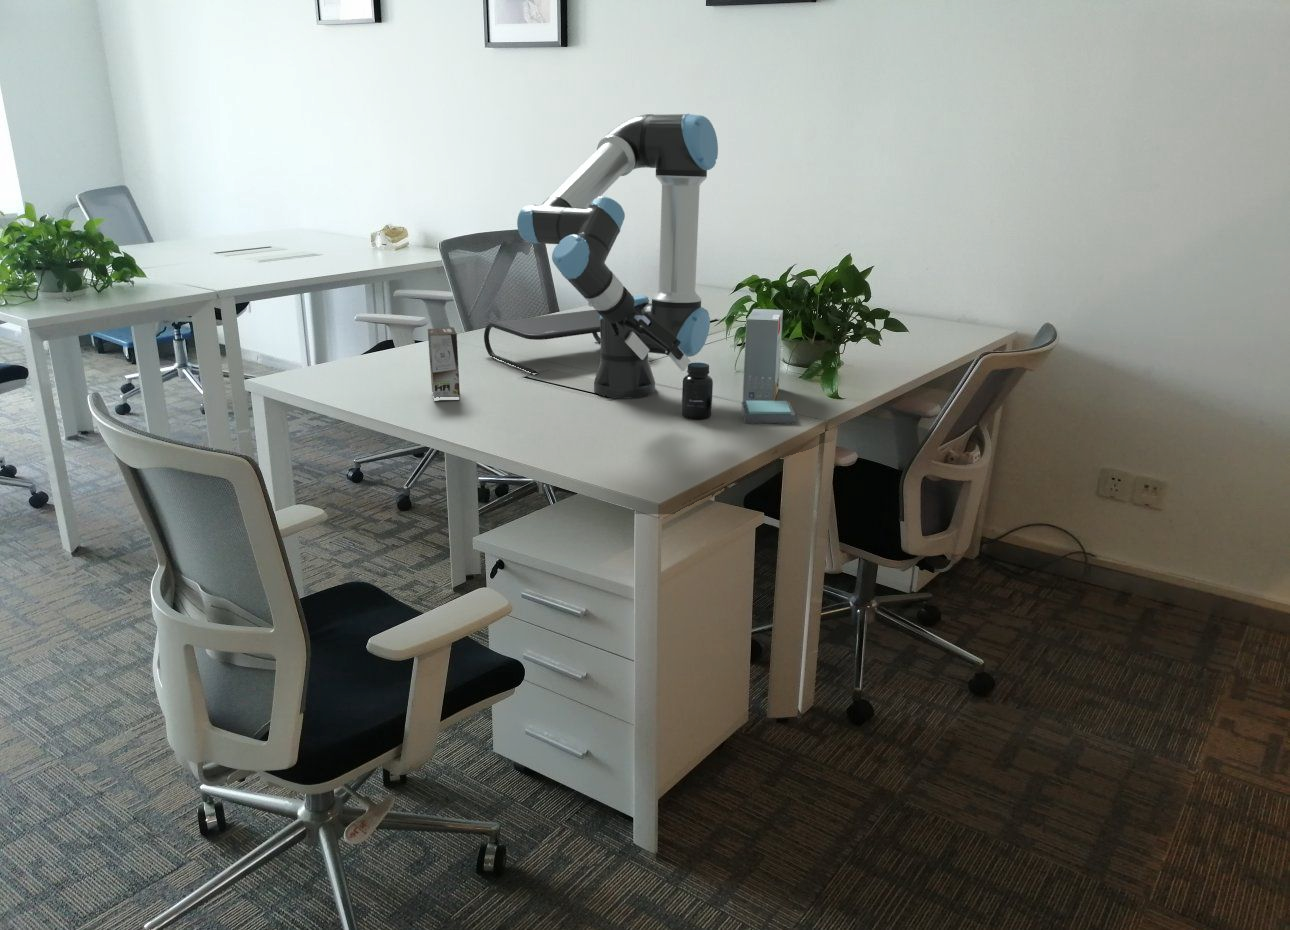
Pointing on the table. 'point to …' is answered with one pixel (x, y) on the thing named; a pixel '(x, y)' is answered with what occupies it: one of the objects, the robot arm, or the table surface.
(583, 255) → the robot arm
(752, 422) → the scale base
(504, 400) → the table surface
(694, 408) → the supplement bottle
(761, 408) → the scale plate
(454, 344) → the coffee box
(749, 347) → the hard drive box
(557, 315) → the monitor stand
